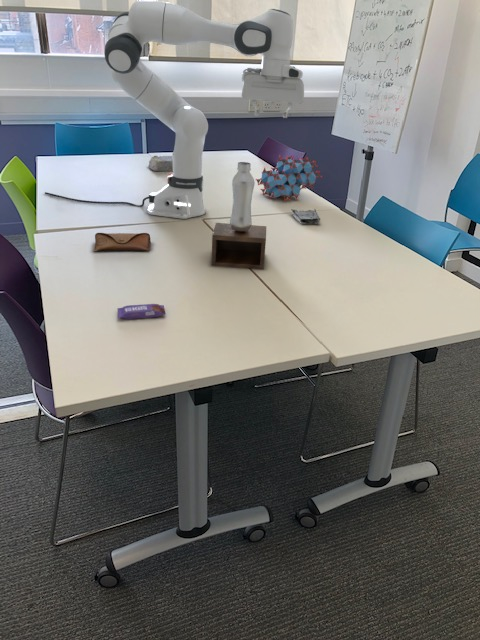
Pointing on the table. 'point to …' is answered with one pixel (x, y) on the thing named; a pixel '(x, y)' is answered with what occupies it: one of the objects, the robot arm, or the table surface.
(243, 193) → the plastic bottle
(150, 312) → the snack package
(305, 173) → the molecule model
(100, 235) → the sunglasses case
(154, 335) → the table surface
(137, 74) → the robot arm
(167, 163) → the geological specimen
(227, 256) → the dark wooden box
